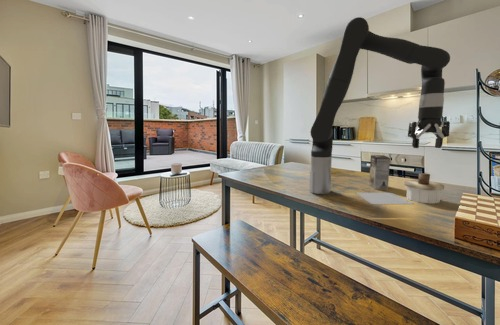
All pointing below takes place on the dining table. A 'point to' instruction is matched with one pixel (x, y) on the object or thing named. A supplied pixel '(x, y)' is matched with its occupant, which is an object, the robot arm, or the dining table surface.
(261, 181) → the dining table surface
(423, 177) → the lid
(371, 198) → the mat
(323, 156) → the robot arm
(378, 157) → the coffee box
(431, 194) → the bowl
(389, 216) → the dining table surface
